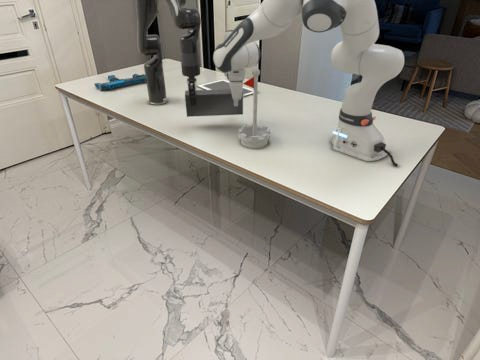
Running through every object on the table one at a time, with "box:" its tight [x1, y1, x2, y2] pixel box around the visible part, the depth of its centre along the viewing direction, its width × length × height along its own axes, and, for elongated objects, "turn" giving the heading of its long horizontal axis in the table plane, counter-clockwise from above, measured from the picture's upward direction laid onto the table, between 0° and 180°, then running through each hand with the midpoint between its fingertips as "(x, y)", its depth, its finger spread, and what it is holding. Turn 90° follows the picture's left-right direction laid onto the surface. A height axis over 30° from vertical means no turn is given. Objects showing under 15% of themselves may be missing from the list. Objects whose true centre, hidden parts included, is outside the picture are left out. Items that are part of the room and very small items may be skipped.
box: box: [184, 89, 244, 118], centre depth 148 cm, size 24×6×10 cm, turn 96°
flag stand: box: [238, 67, 272, 149], centre depth 132 cm, size 13×13×30 cm
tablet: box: [197, 78, 259, 98], centre depth 197 cm, size 32×20×1 cm, turn 41°
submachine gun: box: [94, 73, 146, 91], centre depth 208 cm, size 34×4×25 cm
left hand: (193, 102), depth 147 cm, fingers closed on box, 6 cm apart
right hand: (235, 102), depth 149 cm, fingers closed on box, 6 cm apart
